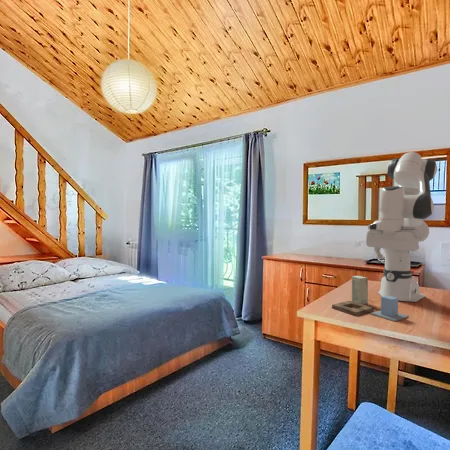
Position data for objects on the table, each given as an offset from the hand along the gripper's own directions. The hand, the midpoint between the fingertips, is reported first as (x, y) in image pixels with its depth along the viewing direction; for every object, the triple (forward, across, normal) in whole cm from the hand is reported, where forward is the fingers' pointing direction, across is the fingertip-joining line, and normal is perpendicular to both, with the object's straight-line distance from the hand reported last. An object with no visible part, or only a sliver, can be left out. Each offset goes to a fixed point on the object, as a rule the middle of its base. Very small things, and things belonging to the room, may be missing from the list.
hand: (390, 260), depth 126 cm
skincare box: (+23, +18, -6) cm, 30 cm away
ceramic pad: (+23, 0, 0) cm, 23 cm away
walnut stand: (+23, +13, +6) cm, 27 cm away
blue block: (+22, 0, 0) cm, 22 cm away
